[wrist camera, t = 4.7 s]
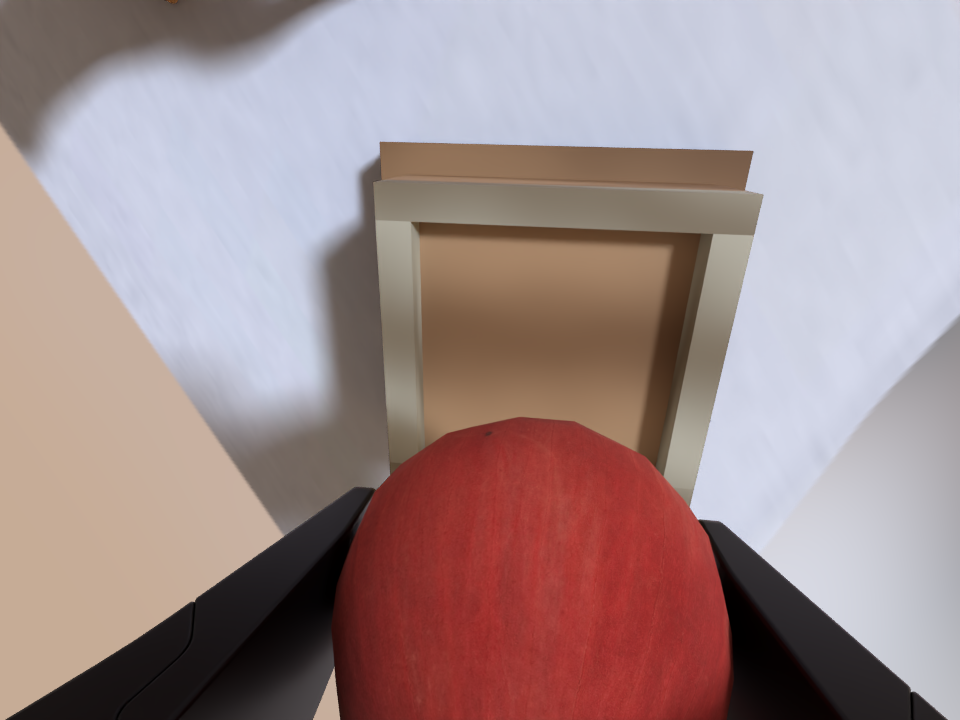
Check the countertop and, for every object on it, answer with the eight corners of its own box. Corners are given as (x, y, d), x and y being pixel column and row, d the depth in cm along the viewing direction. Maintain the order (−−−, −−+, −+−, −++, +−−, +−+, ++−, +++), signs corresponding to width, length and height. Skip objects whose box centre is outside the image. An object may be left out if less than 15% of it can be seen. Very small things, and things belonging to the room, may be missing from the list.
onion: (641, 574, 12) (781, 1226, 5) (410, 547, 13) (227, 1092, 5) (690, 356, 10) (1108, 992, 2) (403, 334, 10) (58, 802, 3)
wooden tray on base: (671, 443, 22) (713, 540, 17) (407, 421, 23) (365, 506, 18) (731, 150, 17) (818, 151, 12) (395, 142, 19) (333, 140, 13)
